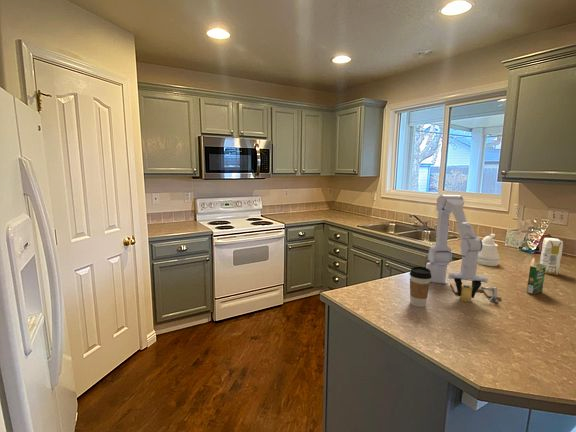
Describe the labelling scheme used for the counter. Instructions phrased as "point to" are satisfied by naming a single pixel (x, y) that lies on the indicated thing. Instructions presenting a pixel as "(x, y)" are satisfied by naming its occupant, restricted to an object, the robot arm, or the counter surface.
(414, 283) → the coffee cup
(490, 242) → the honey pot
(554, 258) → the juice carton
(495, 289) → the hook arm
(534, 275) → the coffee box
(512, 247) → the counter surface
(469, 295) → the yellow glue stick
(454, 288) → the brown u-shaped board
